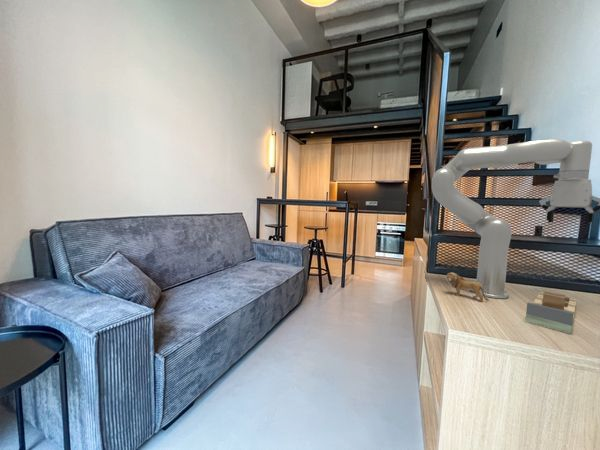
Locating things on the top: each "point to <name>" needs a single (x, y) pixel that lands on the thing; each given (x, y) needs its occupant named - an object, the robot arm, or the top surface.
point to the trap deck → (568, 306)
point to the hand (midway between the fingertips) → (568, 223)
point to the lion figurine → (465, 285)
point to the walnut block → (553, 300)
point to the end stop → (550, 313)
